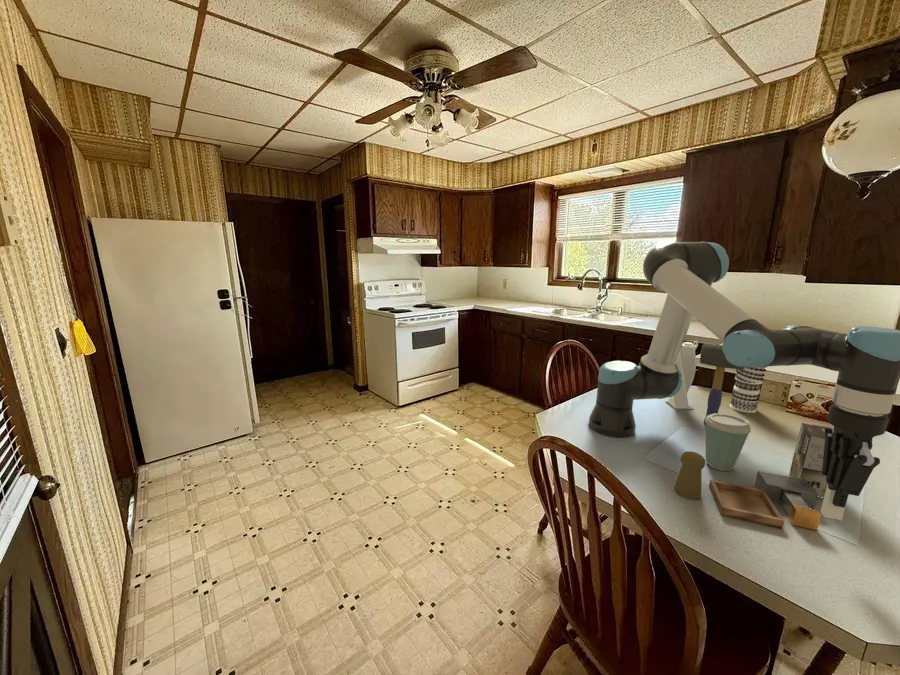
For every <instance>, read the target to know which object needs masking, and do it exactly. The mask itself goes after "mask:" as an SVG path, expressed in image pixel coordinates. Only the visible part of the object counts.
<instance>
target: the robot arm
mask: <svg viewBox="0 0 900 675" xmlns="http://www.w3.org/2000/svg"><path fill="white" fill-rule="evenodd" d="M729 266H730V259H729V255H728V254H727V251H726V249H725V248H724V247H723V246H722V245H720V244H718V243H716V242H709V241H677V242H676V241H668V242H664V243H660V244H658V245H656V246H655V247H652V249H651V250H650V251H649V252H648V253H647V254H646V256H645V258H644V260H643V265H642V271H643V274H644V277H645V279H646V280H647V282H648V283H649V284H650V285H651V286H652V287H654V289H655V290H658V291H659V292H665V293H666V294H667V295H666V297H665V300H664V304H663V307H662V310H661V313H660V316H659V319H658V322H657V326H656V328H655V330H654V334H653V337H652V340H651V343H650V347H649V350H648V352H647V354H645V355H642V356H641V357H640V361H639V364H638V365H637V364H636V363H634V362H631V361H629V360H628V361H627V360H612V361H607V362H604V363H603V364H602V365H601V366H600V367H599V373H598V376H597V380H598V381H597V388H596V390H597V391H596V392H597V393H596V400H595V401H596V402H595V405H594V407H593V409H592V411H591V413H590V415H589V416H588V417H589V418H588V426H589V425H590V426H589V427H590V428H591V429H592V430H593V431H595V432H597V433H599V434H601V435H604V436H608V437H613V438H628V437H631V436H633V435H635V433H636V429H637V428H636V427H637V426H636V420H635V416H634V413H633V412H634V411H633V408H634V407H633V406H634V405H633V404H634V401H636V400H654V399H655V400H656V399H657V400H658V399H659V400H661V399H666V398H668V399H669V398H670V397H672V396H674V395H676V394H677V393H678V392H679V390H680V388H681V386H682V379H681V377H682V374H681V372H680V370H679V366H678V364H677V363H676V360H677V358H678V355H679V352H680V350H681V347H682V345H683V343H684V342H685V339H686V336H687V334H688V331H689V329H690V327H691V323H692V320H693V318H694V319H696V320H697V321H698V322H699V323H701V324H702V326H704V327H705V329H707V330H709V331H710V332H711V333H712V335H714V336H715V337H716V338H718V339H719V340H720V341H721V342H722V345H723V346H722V349H723V353H724V354H725V356H726V357H725V358H726V359H727V360H728V361H729V362H730V363H731V364H733V365H735V366H739V367H751V368H759V367H766V368H769V367H780V366H783V367H784V366H785V367H787V366H804V365H805V366H807V365H809V366H816V367H820V368H823V369H826V370H830V371H834V372H838V375H837V379H836V382H835V386H834V390H833V393H832V394H833V395H832V397H831V401H832V402H833V403H832V404H831V405H830V407H829V410H828V411H829V412H828V416H827V422H828V423H829V424H830V425H832V426H833V427H829V428H825V430H824V432H825V446H824V457H823V467H822V474H823V475H825V476H827V477H826V482H827V483H828V484H827V488H826V492H825V496H824V499H823V498H822V499H823V501H822V504H821V507H820V511H819V512H820V514H821V516H823V517H824V518H830V519H834V520H839V521H842V520H843V516H844V512H845V509H846V505H847V501H848V498H849V496H850V495H851V496H857V497H860V495H861V493H862V491H863V489H864V487H865V485H866V483H867V482H868V479H869V478H870V476H871V474H872V472H873V470H874V469H875V468H876V467H877V466H879V465H880V463H881V459H880V458H879V457H878V456H877V457H876V456H873V454H872V453H871V450H872V449H873V439H874V437H879V436H882V435H884V434H885V433H886V429H887V427H888V423H889V419H890V417H889V416H888V415H889V414H890V413H891V410H892V407H893V403H894V401H895V400H896V399H897V396H896V393H897V389H898V386H899V382H900V330H899V329H894V328H887V327H878V326H866V325H863V326H861V325H860V326H854V327H851V328H850V329H849V330H848V333H843V332H838V331H833V330H826V329H820V328H816V327H813V326H808V325H804V326H803V325H797V324H792V325H791V324H790V325H787V326H785V327H784V328H781V329H770V328H768V327H767V326H765V325H764V324H762V323H761V322H759V321H758V320H756V319H755V318H754V317H753V316H752V315H750V314H749V313H747V312H746V311H745V310H743V309H742V308H741V307H739V306H738V305H737V304H735V303H734V302H732V300H730V299H728V298H727V297H726V296H724V295H723V294H722V293H720V292H719V291H718V290H716V289H715V287H713V286H712V285H713V283H718V282H719V281H720V280H723V278H725V276H726V275H727V274H728V270H729ZM831 428H833V429H831Z"/></svg>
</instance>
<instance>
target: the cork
mask: <svg viewBox="0 0 900 675" xmlns="http://www.w3.org/2000/svg"><path fill="white" fill-rule="evenodd" d="M680 461H681V464H682V465H681V468H680V470H679V474H678V476H677V479H676V481H675V484H674V487H673V490H674V492H675V493H676V494H677V495H678V496H680V497H682V498H684V499H687V500H692V501H697V500H700V499H701V498H702V470H703V469H704V468H705V466H706V458H705V457H704V456H703V455H701V454H700V453H697V452H695V451H684V452H683V453H682V454H681V456H680Z"/></svg>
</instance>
